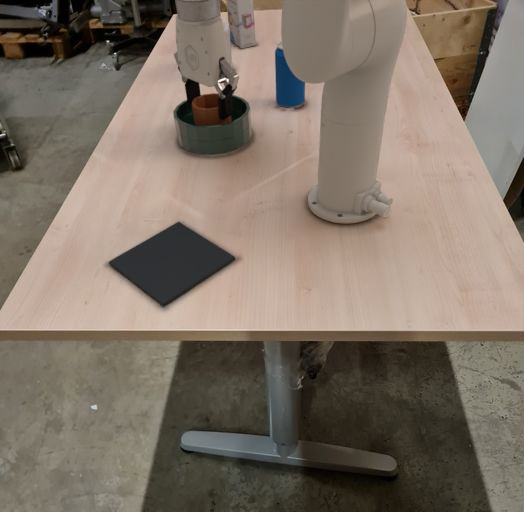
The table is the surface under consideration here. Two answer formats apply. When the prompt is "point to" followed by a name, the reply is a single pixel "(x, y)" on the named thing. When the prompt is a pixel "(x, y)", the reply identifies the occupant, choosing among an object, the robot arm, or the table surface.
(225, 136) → the green pot
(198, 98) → the copper pot
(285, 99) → the beverage can
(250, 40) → the ink box
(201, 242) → the rubber mat
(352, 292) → the table surface
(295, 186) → the table surface
